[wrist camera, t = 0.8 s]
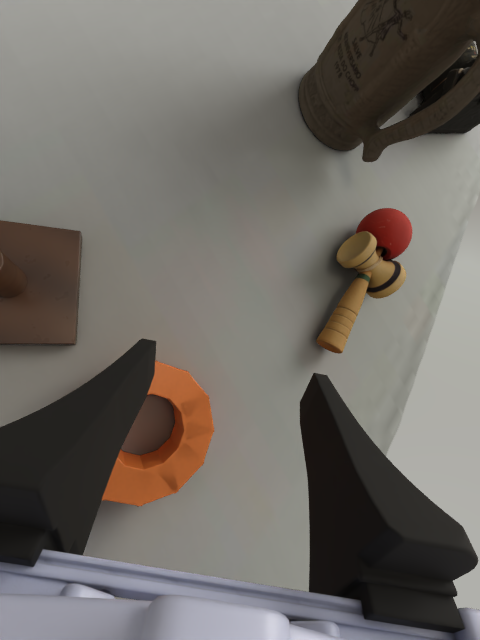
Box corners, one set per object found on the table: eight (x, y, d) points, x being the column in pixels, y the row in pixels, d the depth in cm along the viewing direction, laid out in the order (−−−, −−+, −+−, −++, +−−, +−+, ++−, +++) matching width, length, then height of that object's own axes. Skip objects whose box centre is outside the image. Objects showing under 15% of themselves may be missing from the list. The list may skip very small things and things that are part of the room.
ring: (178, 495, 26) (187, 515, 22) (52, 472, 22) (42, 490, 19) (216, 382, 28) (229, 385, 25) (107, 345, 25) (107, 343, 22)
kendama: (342, 363, 36) (401, 241, 39) (375, 367, 30) (443, 222, 32) (288, 331, 35) (353, 209, 38) (310, 329, 29) (386, 182, 32)
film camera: (442, 59, 50) (517, -8, 40) (474, 127, 51) (553, 77, 42) (383, 84, 43) (456, 10, 34) (422, 162, 44) (502, 112, 35)
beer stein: (283, 63, 36) (470, -219, 17) (346, 65, 40) (549, -160, 22) (320, 190, 37) (528, 53, 19) (377, 178, 41) (590, 57, 23)
